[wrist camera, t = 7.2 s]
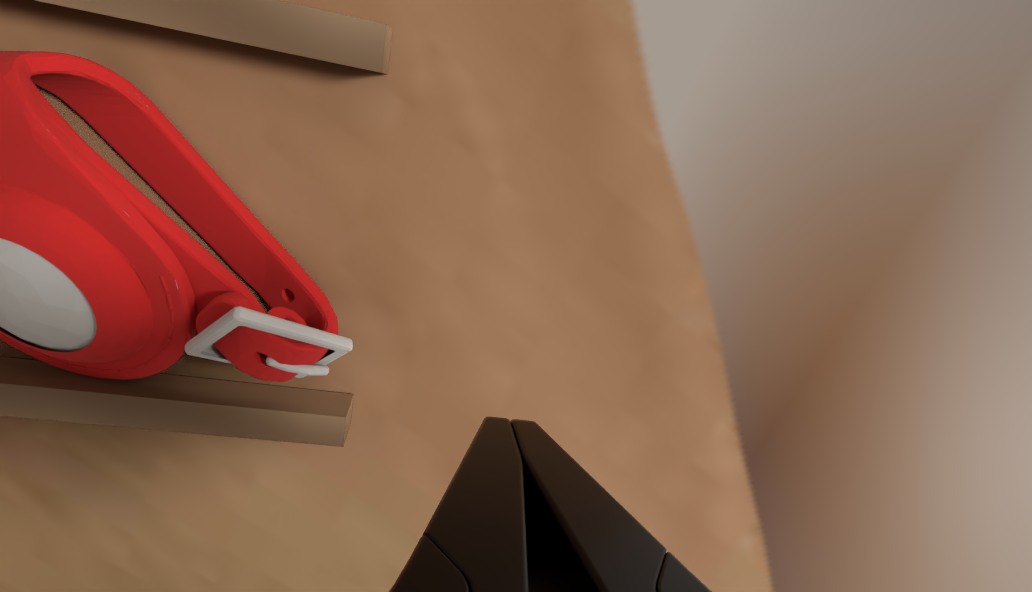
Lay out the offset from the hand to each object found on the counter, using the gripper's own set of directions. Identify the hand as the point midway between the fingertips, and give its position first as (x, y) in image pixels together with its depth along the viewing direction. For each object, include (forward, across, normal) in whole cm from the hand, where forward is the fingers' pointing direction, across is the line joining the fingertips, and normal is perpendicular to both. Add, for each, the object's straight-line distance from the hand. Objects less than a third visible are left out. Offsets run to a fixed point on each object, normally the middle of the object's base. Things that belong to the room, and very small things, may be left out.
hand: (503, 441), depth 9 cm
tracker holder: (+10, +10, +2) cm, 15 cm away
